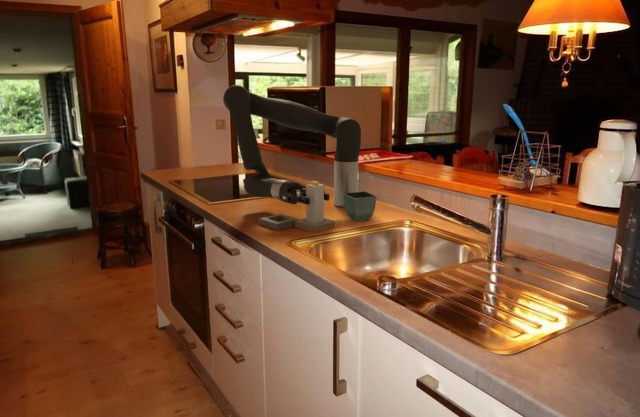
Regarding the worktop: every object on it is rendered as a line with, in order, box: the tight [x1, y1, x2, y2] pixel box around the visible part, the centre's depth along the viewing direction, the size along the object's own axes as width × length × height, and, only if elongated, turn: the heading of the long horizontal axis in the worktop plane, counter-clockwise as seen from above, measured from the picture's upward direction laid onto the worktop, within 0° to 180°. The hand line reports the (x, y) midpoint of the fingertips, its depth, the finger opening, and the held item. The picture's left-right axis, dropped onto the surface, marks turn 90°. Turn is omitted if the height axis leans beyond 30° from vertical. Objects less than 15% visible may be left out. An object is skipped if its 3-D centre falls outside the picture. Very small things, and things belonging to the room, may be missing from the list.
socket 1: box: [258, 213, 300, 231], centre depth 161 cm, size 10×10×2 cm
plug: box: [305, 180, 325, 224], centre depth 157 cm, size 4×4×15 cm
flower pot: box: [343, 190, 378, 223], centre depth 166 cm, size 9×9×9 cm
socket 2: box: [293, 217, 337, 233], centre depth 158 cm, size 10×10×2 cm
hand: (319, 199), depth 155 cm, fingers open, 8 cm apart
